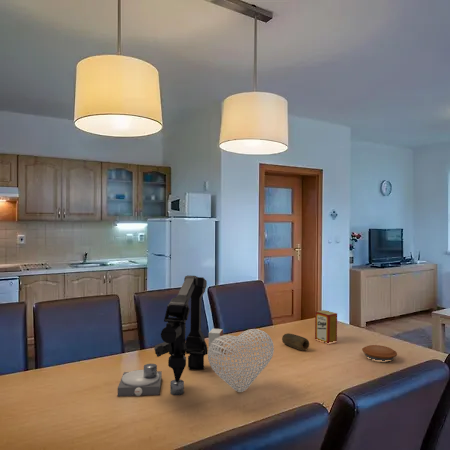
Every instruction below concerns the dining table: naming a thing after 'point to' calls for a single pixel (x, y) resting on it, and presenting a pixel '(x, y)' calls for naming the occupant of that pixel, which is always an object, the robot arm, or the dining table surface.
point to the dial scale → (139, 384)
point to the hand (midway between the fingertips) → (177, 376)
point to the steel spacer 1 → (150, 371)
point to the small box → (213, 335)
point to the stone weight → (295, 341)
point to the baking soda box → (326, 326)
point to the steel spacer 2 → (177, 387)
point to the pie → (379, 352)
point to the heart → (233, 340)
